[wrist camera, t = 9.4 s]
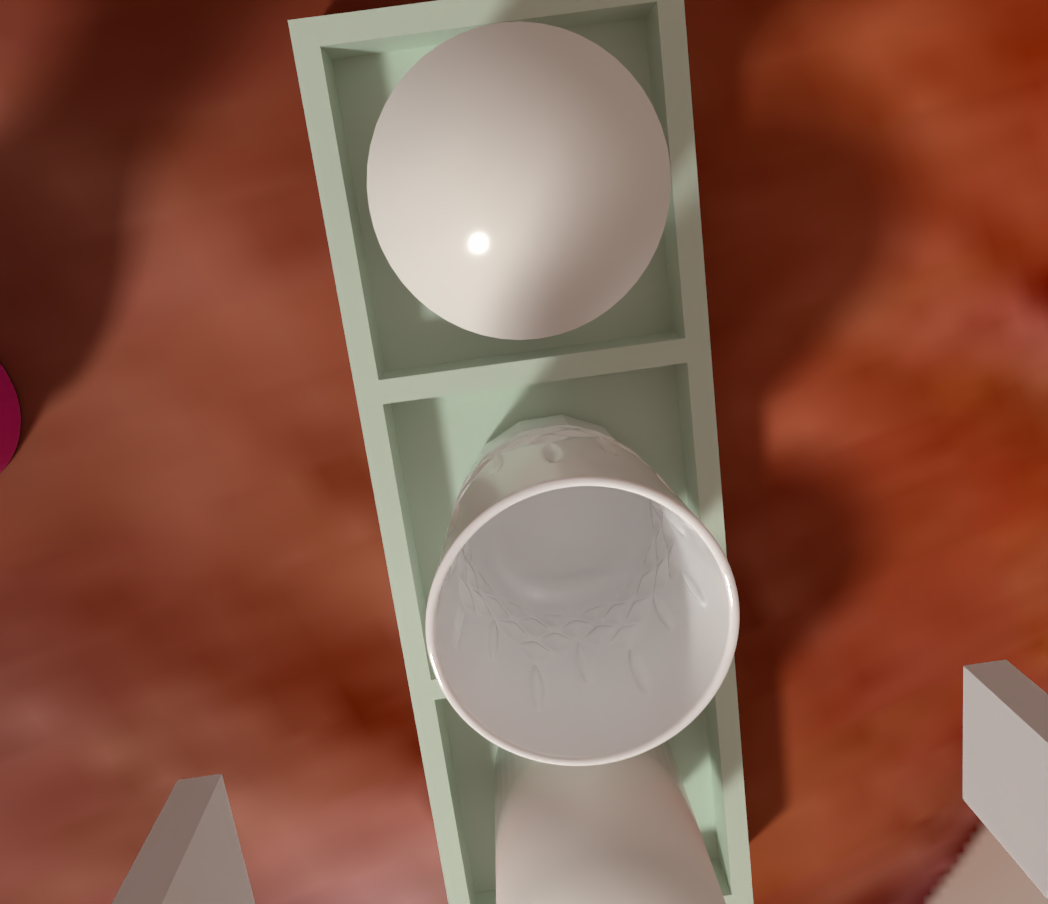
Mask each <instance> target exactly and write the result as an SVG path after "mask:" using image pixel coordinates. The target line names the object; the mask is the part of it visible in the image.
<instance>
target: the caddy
mask: <svg viewBox="0 0 1048 904" xmlns="http://www.w3.org/2000/svg"><path fill="white" fill-rule="evenodd" d="M519 21H521V22H533V23H542V24H547V25H551V26H555V27H560V28H563V29H565V30H568V31H571V32H573V33H576V34H578V35H581V36H583V37H584V38H586V39H588V40H590V41H592V42H593V43H595V44H597V45H599V46H600V47H601V48H603V49H604V50H605V51H607V52H608V53H609V54H611V55H612V56H613V57H615V58H616V59H617V60H618V61H619V62H620V63H621V64H622V65H623V66H624V67H625V68H626V69H627V70H628V71H629V72H630V73H631V74H632V76H633V77H634V78H635V79H636V81H637V82H638V83H639V85H640V86H641V87H642V88H643V90H644V92H645V93H646V95H647V97H648V98H649V100H650V102H651V104H652V105H653V107H654V109H655V112H656V114H657V116H658V119H659V121H660V123H661V126H662V129H663V133H664V136H665V140H666V143H667V147H668V154H669V161H670V169H671V192H670V202H669V210H668V214H667V219H666V223H665V227H664V230H663V233H662V236H661V239H660V241H659V244H658V247H657V249H656V251H655V253H654V255H653V257H652V259H651V261H650V263H649V265H648V266H647V268H646V269H645V271H644V272H643V273H642V275H641V276H640V278H639V279H638V281H637V282H636V283H635V284H634V286H633V287H632V288H631V289H630V290H629V291H628V292H627V293H626V295H625V296H624V297H623V298H621V299H620V300H619V301H618V302H617V303H616V304H615V305H613V306H612V307H611V308H610V309H609V310H607V311H606V312H604V313H603V314H601V315H600V316H598V317H597V318H595V319H594V320H592V321H590V322H588V323H586V324H584V325H582V326H580V327H578V328H576V329H573V330H570V331H568V332H565V333H562V334H559V335H555V336H550V337H545V338H540V339H527V340H511V339H499V338H494V337H489V336H484V335H480V334H477V333H474V332H471V331H468V330H465V329H463V328H461V327H459V326H456V325H454V324H452V323H450V322H448V321H446V320H445V319H443V318H442V317H440V316H439V315H437V314H436V313H434V312H433V311H431V310H430V309H428V308H427V307H426V306H425V305H424V304H423V303H422V302H420V301H419V300H418V299H417V298H416V297H415V296H414V295H413V294H412V293H411V292H410V291H409V290H408V289H407V287H406V286H405V285H404V284H403V283H402V282H401V280H400V279H399V278H398V276H397V275H396V273H395V272H394V270H393V269H392V267H391V266H390V264H389V262H388V260H387V258H386V257H385V255H384V253H383V251H382V249H381V247H380V244H379V241H378V239H377V236H376V233H375V231H374V228H373V223H372V219H371V215H370V211H369V205H368V195H367V164H368V157H369V150H370V144H371V141H372V137H373V134H374V130H375V127H376V124H377V121H378V119H379V117H380V114H381V112H382V110H383V107H384V105H385V103H386V102H387V100H388V98H389V97H390V95H391V93H392V92H393V90H394V88H395V87H396V86H397V84H398V83H399V82H400V81H401V79H402V78H403V77H404V75H405V74H406V73H407V72H408V71H409V70H410V69H411V68H412V67H413V66H414V65H415V64H416V63H417V62H418V61H419V60H420V59H421V58H422V57H423V56H424V55H426V54H427V53H428V52H430V51H431V50H433V49H434V48H435V47H437V46H438V45H440V44H441V43H443V42H445V41H447V40H449V39H450V38H452V37H454V36H456V35H458V34H460V33H463V32H466V31H469V30H471V29H474V28H477V27H481V26H485V25H490V24H495V23H502V22H519ZM288 25H289V31H290V36H291V42H292V47H293V53H294V58H295V63H296V69H297V74H298V80H299V85H300V91H301V96H302V102H303V107H304V113H305V118H306V124H307V129H308V135H309V140H310V146H311V151H312V157H313V162H314V168H315V173H316V179H317V184H318V190H319V195H320V201H321V206H322V212H323V217H324V223H325V228H326V234H327V239H328V245H329V250H330V256H331V261H332V267H333V272H334V277H335V283H336V288H337V294H338V299H339V305H340V310H341V316H342V321H343V327H344V332H345V338H346V343H347V349H348V354H349V360H350V365H351V371H352V376H353V382H354V387H355V393H356V398H357V404H358V409H359V415H360V420H361V426H362V431H363V437H364V442H365V448H366V453H367V459H368V464H369V470H370V475H371V480H372V486H373V491H374V497H375V502H376V508H377V513H378V519H379V524H380V530H381V535H382V541H383V546H384V552H385V557H386V563H387V568H388V574H389V579H390V585H391V590H392V596H393V601H394V607H395V612H396V618H397V623H398V629H399V634H400V640H401V645H402V651H403V656H404V662H405V667H406V673H407V678H408V684H409V689H410V694H411V700H412V705H413V711H414V716H415V722H416V727H417V733H418V738H419V744H420V749H421V755H422V760H423V766H424V771H425V777H426V782H427V788H428V793H429V799H430V804H431V810H432V815H433V821H434V826H435V832H436V837H437V843H438V848H439V854H440V859H441V865H442V870H443V876H444V881H445V887H446V892H447V897H448V903H449V904H496V864H495V793H494V766H495V758H496V753H497V749H498V747H499V746H497V745H495V744H493V743H492V742H490V741H489V740H487V739H486V738H484V737H483V736H481V735H480V734H479V733H478V732H476V731H475V730H474V729H473V728H472V727H470V726H469V725H468V724H467V723H466V722H465V721H464V720H463V719H462V718H461V717H460V715H459V714H458V713H457V712H456V711H455V710H454V708H453V707H452V706H451V704H450V703H449V701H448V700H447V698H446V697H445V695H444V693H443V692H442V690H441V688H440V686H439V684H438V682H437V680H436V677H435V675H434V672H433V669H432V666H431V663H430V660H429V655H428V651H427V645H426V634H425V618H426V608H427V602H428V597H429V592H430V589H431V585H432V582H433V578H434V575H435V571H436V568H437V564H438V560H439V556H440V553H441V549H442V545H443V541H444V538H445V534H446V530H447V526H448V523H449V521H450V518H451V515H452V512H453V508H454V506H455V503H456V500H457V498H458V495H459V493H460V490H461V488H462V485H463V482H464V480H465V478H466V476H467V474H468V473H469V471H470V469H471V467H472V466H473V464H474V462H475V461H476V459H477V457H478V455H479V454H480V452H481V450H482V448H483V447H484V445H485V444H487V443H488V442H490V441H491V440H493V439H494V438H496V437H497V436H498V435H500V434H501V433H503V432H504V431H506V430H507V429H509V428H510V427H512V426H513V425H515V424H516V423H517V422H519V421H523V420H529V419H535V418H541V417H547V416H554V415H560V414H563V415H567V416H570V417H574V418H577V419H581V420H584V421H588V422H591V423H595V424H598V425H601V426H604V427H605V428H606V429H607V430H608V431H609V432H610V433H612V434H613V435H614V436H615V437H616V438H617V439H618V440H619V441H620V442H621V443H623V444H624V445H625V446H627V447H629V448H630V449H632V450H633V451H634V452H636V453H637V454H638V455H639V456H640V457H641V458H642V459H643V460H644V461H645V462H646V463H647V464H648V465H649V466H650V467H651V468H652V469H653V470H654V471H655V472H656V473H657V474H658V475H659V476H660V477H661V478H662V479H663V480H664V481H665V482H666V483H667V484H668V485H669V486H670V488H671V489H672V490H673V491H674V492H675V493H676V494H677V495H678V497H679V498H680V499H681V500H682V501H683V502H684V503H685V505H686V506H687V507H688V508H689V509H690V510H691V511H692V512H693V514H694V515H695V516H696V517H697V518H698V519H699V520H700V521H701V522H702V523H703V524H704V526H705V527H706V528H707V529H708V530H709V531H710V533H711V534H712V535H713V537H714V538H715V539H716V541H717V542H718V544H719V545H720V547H721V549H722V551H723V552H724V554H725V556H726V558H727V553H726V540H725V527H724V514H723V501H722V488H721V475H720V462H719V449H718V436H717V423H716V410H715V397H714V384H713V371H712V358H711V345H710V332H709V318H708V305H707V292H706V279H705V266H704V253H703V240H702V227H701V214H700V201H699V188H698V175H697V162H696V149H695V136H694V123H693V110H692V97H691V84H690V71H689V58H688V45H687V32H686V19H685V6H684V0H437V1H429V2H422V3H414V4H407V5H399V6H391V7H384V8H376V9H369V10H361V11H354V12H346V13H339V14H331V15H324V16H316V17H309V18H301V19H294V20H288ZM668 743H669V746H670V748H671V751H672V754H673V757H674V760H675V762H676V765H677V768H678V771H679V774H680V776H681V779H682V782H683V785H684V788H685V790H686V793H687V796H688V799H689V802H690V804H691V807H692V810H693V813H694V816H695V818H696V821H697V824H698V827H699V830H700V832H701V835H702V838H703V841H704V844H705V847H706V849H707V852H708V855H709V858H710V861H711V863H712V866H713V869H714V872H715V875H716V877H717V880H718V883H719V886H720V889H721V891H722V894H723V897H724V900H725V903H726V904H753V892H752V879H751V866H750V853H749V840H748V827H747V814H746V801H745V788H744V775H743V762H742V749H741V736H740V723H739V710H738V696H737V683H736V670H735V657H734V656H733V660H732V663H731V665H730V668H729V670H728V672H727V675H726V677H725V679H724V681H723V682H722V684H721V686H720V688H719V689H718V691H717V693H716V694H715V696H714V697H713V698H712V700H711V701H710V702H709V704H708V705H707V706H706V707H705V709H704V710H703V711H702V712H701V713H700V714H699V715H698V716H697V717H696V718H695V719H694V720H693V721H692V722H691V723H690V724H689V725H688V726H686V727H685V728H684V729H683V730H681V731H680V732H679V733H677V734H676V735H675V736H673V737H672V738H670V739H669V740H668Z"/></svg>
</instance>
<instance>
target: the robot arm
mask: <svg viewBox="0 0 1048 904" xmlns="http://www.w3.org/2000/svg"><path fill="white" fill-rule="evenodd" d="M963 800H964V801H965V802H966V803H967V805H968V806H969V807H970V808H971V809H972V810H973V812H974V813H975V814H976V815H977V816H978V818H979V819H980V820H981V821H982V822H983V824H984V825H985V826H986V827H987V828H988V830H989V831H990V832H991V833H992V834H993V835H994V837H995V838H996V839H997V840H998V841H999V843H1000V844H1001V845H1002V846H1003V847H1004V849H1005V850H1006V851H1007V852H1008V853H1009V854H1010V856H1011V857H1012V858H1013V859H1014V860H1015V862H1016V863H1017V864H1018V865H1019V866H1020V867H1021V869H1022V870H1023V871H1024V872H1025V873H1026V875H1027V876H1028V877H1029V878H1030V879H1031V881H1032V882H1033V883H1034V884H1035V885H1036V887H1037V888H1038V889H1039V890H1040V891H1041V892H1042V894H1043V895H1044V896H1045V897H1046V898H1047V899H1048V694H1047V693H1046V692H1044V691H1043V690H1042V689H1041V688H1040V687H1038V686H1037V685H1036V684H1035V683H1034V682H1032V681H1031V680H1030V679H1029V678H1028V677H1026V676H1025V675H1024V674H1023V673H1022V672H1020V671H1019V670H1018V669H1017V668H1015V667H1014V666H1013V665H1012V664H1011V663H1009V662H1008V661H1007V660H1000V661H993V662H986V663H979V664H972V665H966V666H963ZM112 904H255V901H254V897H253V893H252V889H251V886H250V882H249V878H248V874H247V870H246V866H245V862H244V858H243V855H242V851H241V847H240V843H239V839H238V835H237V831H236V827H235V823H234V820H233V816H232V812H231V808H230V804H229V800H228V796H227V792H226V789H225V785H224V781H223V777H222V774H217V775H210V776H203V777H196V778H189V779H182V780H178V781H177V782H176V784H175V786H174V788H173V790H172V792H171V794H170V796H169V797H168V799H167V801H166V803H165V805H164V807H163V809H162V811H161V812H160V814H159V816H158V818H157V820H156V822H155V824H154V826H153V827H152V829H151V831H150V833H149V835H148V837H147V839H146V841H145V842H144V844H143V846H142V848H141V850H140V852H139V854H138V855H137V857H136V859H135V861H134V863H133V865H132V867H131V869H130V870H129V872H128V874H127V876H126V878H125V880H124V882H123V884H122V885H121V887H120V889H119V891H118V893H117V895H116V897H115V899H114V900H113V902H112Z"/></svg>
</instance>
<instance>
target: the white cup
mask: <svg viewBox="0 0 1048 904" xmlns="http://www.w3.org/2000/svg"><path fill="white" fill-rule="evenodd" d="M739 623H740V609H739V598H738V592H737V587H736V583H735V579H734V576H733V573H732V570H731V567H730V565H729V563H728V560H727V558H726V556H725V554H724V552H723V551H722V549H721V547H720V545H719V544H718V542H717V541H716V539H715V538H714V537H713V535H712V534H711V533H710V531H709V530H708V529H707V528H706V527H705V526H704V524H703V523H702V522H701V521H700V520H699V519H698V518H697V517H696V516H695V515H694V514H693V512H692V511H691V510H690V509H689V508H688V507H687V506H686V505H685V503H684V502H683V501H682V500H681V499H680V498H679V497H678V495H677V494H676V493H675V492H674V491H673V490H672V489H671V488H670V486H669V485H668V484H667V483H666V482H665V481H664V480H663V479H662V478H661V477H660V476H659V475H658V474H657V473H656V472H655V471H654V470H653V469H652V468H651V467H650V466H649V465H648V464H647V463H646V462H645V461H644V460H643V459H642V458H641V457H640V456H639V455H638V454H637V453H636V452H634V451H633V450H632V449H630V448H629V447H627V446H625V445H624V444H623V443H621V442H620V441H619V440H618V439H617V438H616V437H615V436H614V435H613V434H612V433H610V432H609V431H608V430H607V429H606V428H605V427H604V426H601V425H598V424H595V423H591V422H588V421H584V420H581V419H577V418H574V417H570V416H567V415H563V414H560V415H554V416H547V417H541V418H535V419H529V420H523V421H519V422H517V423H516V424H515V425H513V426H512V427H510V428H509V429H507V430H506V431H504V432H503V433H501V434H500V435H498V436H497V437H496V438H494V439H493V440H491V441H490V442H488V443H487V444H485V445H484V447H483V448H482V450H481V452H480V454H479V455H478V457H477V459H476V461H475V462H474V464H473V466H472V467H471V469H470V471H469V473H468V474H467V476H466V478H465V480H464V482H463V485H462V488H461V490H460V493H459V495H458V498H457V500H456V503H455V506H454V508H453V512H452V515H451V518H450V521H449V523H448V526H447V530H446V534H445V538H444V541H443V545H442V549H441V553H440V556H439V560H438V564H437V568H436V571H435V575H434V578H433V582H432V585H431V589H430V592H429V597H428V602H427V608H426V618H425V634H426V645H427V651H428V655H429V660H430V663H431V666H432V669H433V672H434V675H435V677H436V680H437V682H438V684H439V686H440V688H441V690H442V692H443V693H444V695H445V697H446V698H447V700H448V701H449V703H450V704H451V706H452V707H453V708H454V710H455V711H456V712H457V713H458V714H459V715H460V717H461V718H462V719H463V720H464V721H465V722H466V723H467V724H468V725H469V726H470V727H472V728H473V729H474V730H475V731H476V732H478V733H479V734H480V735H481V736H483V737H484V738H486V739H487V740H489V741H490V742H492V743H493V744H495V745H497V746H499V747H501V748H502V749H504V750H506V751H509V752H511V753H513V754H516V755H518V756H521V757H524V758H527V759H530V760H534V761H538V762H542V763H547V764H553V765H562V766H592V765H600V764H607V763H612V762H616V761H620V760H624V759H627V758H631V757H634V756H636V755H639V754H641V753H644V752H646V751H648V750H651V749H653V748H655V747H657V746H658V745H660V744H662V743H664V742H665V741H667V740H669V739H670V738H672V737H673V736H675V735H676V734H677V733H679V732H680V731H681V730H683V729H684V728H685V727H686V726H688V725H689V724H690V723H691V722H692V721H693V720H694V719H695V718H696V717H697V716H698V715H699V714H700V713H701V712H702V711H703V710H704V709H705V707H706V706H707V705H708V704H709V702H710V701H711V700H712V698H713V697H714V696H715V694H716V693H717V691H718V689H719V688H720V686H721V684H722V682H723V681H724V679H725V677H726V675H727V672H728V670H729V668H730V665H731V663H732V660H733V656H734V653H735V649H736V645H737V640H738V634H739Z"/></svg>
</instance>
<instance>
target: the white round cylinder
mask: <svg viewBox="0 0 1048 904" xmlns="http://www.w3.org/2000/svg"><path fill="white" fill-rule="evenodd" d="M670 192H671V169H670V161H669V154H668V147H667V143H666V140H665V136H664V133H663V129H662V126H661V123H660V121H659V119H658V116H657V114H656V112H655V109H654V107H653V105H652V104H651V102H650V100H649V98H648V97H647V95H646V93H645V92H644V90H643V88H642V87H641V86H640V85H639V83H638V82H637V81H636V79H635V78H634V77H633V76H632V74H631V73H630V72H629V71H628V70H627V69H626V68H625V67H624V66H623V65H622V64H621V63H620V62H619V61H618V60H617V59H616V58H615V57H613V56H612V55H611V54H609V53H608V52H607V51H605V50H604V49H603V48H601V47H600V46H599V45H597V44H595V43H593V42H592V41H590V40H588V39H586V38H584V37H583V36H581V35H578V34H576V33H573V32H571V31H568V30H565V29H563V28H560V27H555V26H551V25H547V24H542V23H533V22H521V21H519V22H502V23H495V24H490V25H485V26H481V27H477V28H474V29H471V30H469V31H466V32H463V33H460V34H458V35H456V36H454V37H452V38H450V39H449V40H447V41H445V42H443V43H441V44H440V45H438V46H437V47H435V48H434V49H433V50H431V51H430V52H428V53H427V54H426V55H424V56H423V57H422V58H421V59H420V60H419V61H418V62H417V63H416V64H415V65H414V66H413V67H412V68H411V69H410V70H409V71H408V72H407V73H406V74H405V75H404V77H403V78H402V79H401V81H400V82H399V83H398V84H397V86H396V87H395V88H394V90H393V92H392V93H391V95H390V97H389V98H388V100H387V102H386V103H385V105H384V107H383V110H382V112H381V114H380V117H379V119H378V121H377V124H376V127H375V130H374V134H373V137H372V141H371V144H370V150H369V157H368V164H367V195H368V205H369V211H370V215H371V219H372V223H373V228H374V231H375V233H376V236H377V239H378V241H379V244H380V247H381V249H382V251H383V253H384V255H385V257H386V258H387V260H388V262H389V264H390V266H391V267H392V269H393V270H394V272H395V273H396V275H397V276H398V278H399V279H400V280H401V282H402V283H403V284H404V285H405V286H406V287H407V289H408V290H409V291H410V292H411V293H412V294H413V295H414V296H415V297H416V298H417V299H418V300H419V301H420V302H422V303H423V304H424V305H425V306H426V307H427V308H428V309H430V310H431V311H433V312H434V313H436V314H437V315H439V316H440V317H442V318H443V319H445V320H446V321H448V322H450V323H452V324H454V325H456V326H459V327H461V328H463V329H465V330H468V331H471V332H474V333H477V334H480V335H484V336H489V337H494V338H499V339H511V340H527V339H540V338H545V337H550V336H555V335H559V334H562V333H565V332H568V331H570V330H573V329H576V328H578V327H580V326H582V325H584V324H586V323H588V322H590V321H592V320H594V319H595V318H597V317H598V316H600V315H601V314H603V313H604V312H606V311H607V310H609V309H610V308H611V307H612V306H613V305H615V304H616V303H617V302H618V301H619V300H620V299H621V298H623V297H624V296H625V295H626V293H627V292H628V291H629V290H630V289H631V288H632V287H633V286H634V284H635V283H636V282H637V281H638V279H639V278H640V276H641V275H642V273H643V272H644V271H645V269H646V268H647V266H648V265H649V263H650V261H651V259H652V257H653V255H654V253H655V251H656V249H657V247H658V244H659V241H660V239H661V236H662V233H663V230H664V227H665V223H666V219H667V214H668V210H669V202H670Z"/></svg>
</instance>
